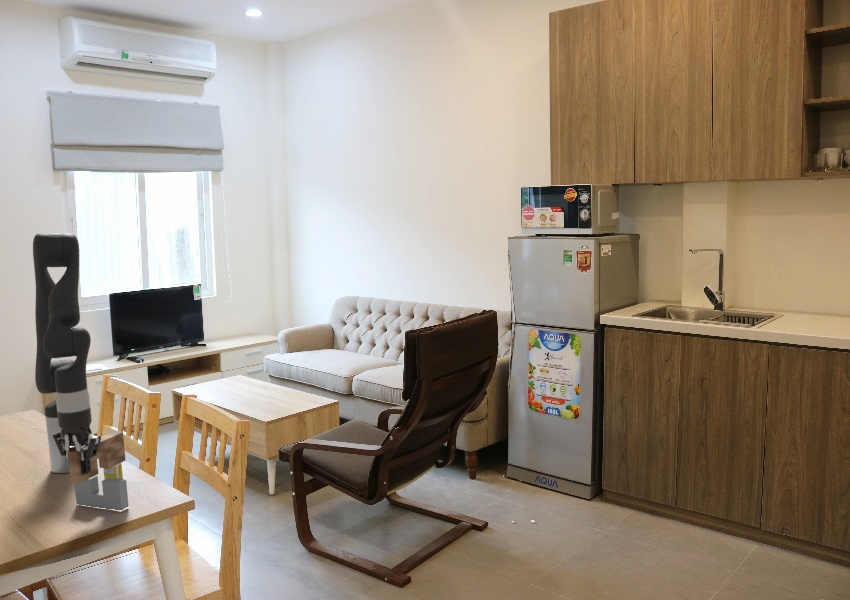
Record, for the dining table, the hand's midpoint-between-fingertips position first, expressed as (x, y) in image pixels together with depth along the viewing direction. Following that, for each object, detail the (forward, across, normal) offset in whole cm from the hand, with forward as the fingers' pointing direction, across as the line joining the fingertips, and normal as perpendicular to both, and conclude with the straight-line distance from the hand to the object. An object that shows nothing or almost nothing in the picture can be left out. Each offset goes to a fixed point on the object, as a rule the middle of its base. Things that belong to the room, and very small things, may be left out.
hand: (80, 472), depth 183 cm
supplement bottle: (+12, +8, -19) cm, 24 cm away
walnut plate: (+2, 0, -6) cm, 6 cm away
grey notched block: (+12, 0, -6) cm, 13 cm away
